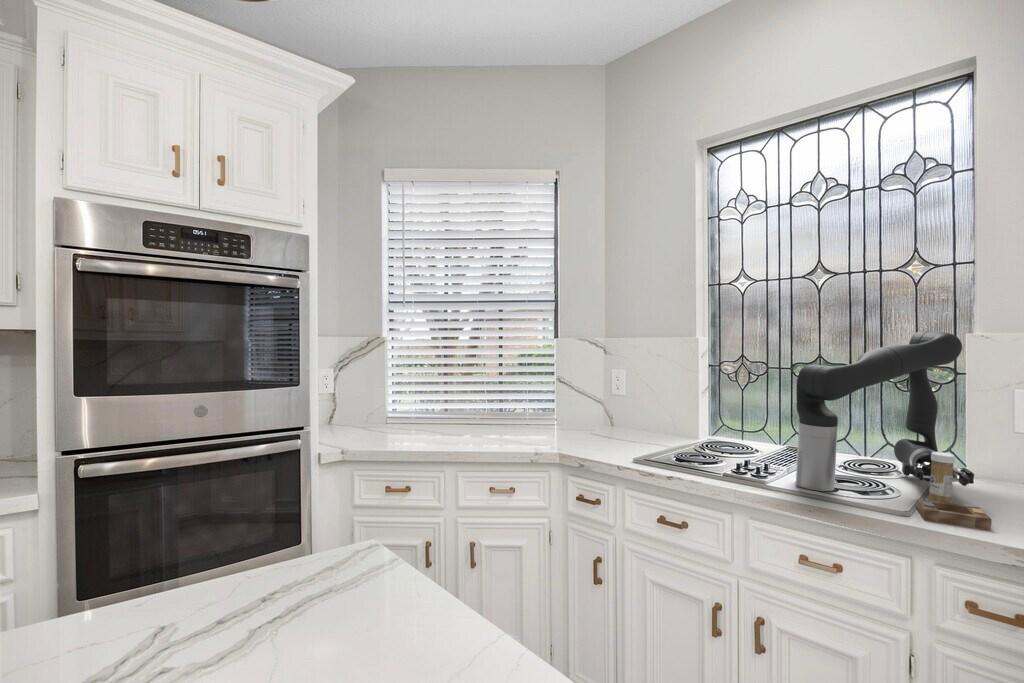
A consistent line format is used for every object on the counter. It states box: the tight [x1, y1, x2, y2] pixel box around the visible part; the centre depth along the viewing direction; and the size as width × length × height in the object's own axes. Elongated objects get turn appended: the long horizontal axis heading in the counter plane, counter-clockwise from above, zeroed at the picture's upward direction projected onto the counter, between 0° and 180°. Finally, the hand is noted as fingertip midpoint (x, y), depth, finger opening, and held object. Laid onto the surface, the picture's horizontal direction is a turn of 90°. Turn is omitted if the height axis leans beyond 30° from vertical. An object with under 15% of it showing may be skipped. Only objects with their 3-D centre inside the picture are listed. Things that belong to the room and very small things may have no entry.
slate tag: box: [921, 501, 935, 507], centre depth 131 cm, size 2×3×1 cm, turn 153°
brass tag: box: [970, 508, 986, 515], centre depth 127 cm, size 2×3×1 cm, turn 153°
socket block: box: [915, 498, 992, 531], centre depth 129 cm, size 12×9×2 cm
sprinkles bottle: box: [928, 451, 955, 503], centre depth 137 cm, size 5×5×14 cm
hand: (943, 478), depth 136 cm, fingers open, 8 cm apart
